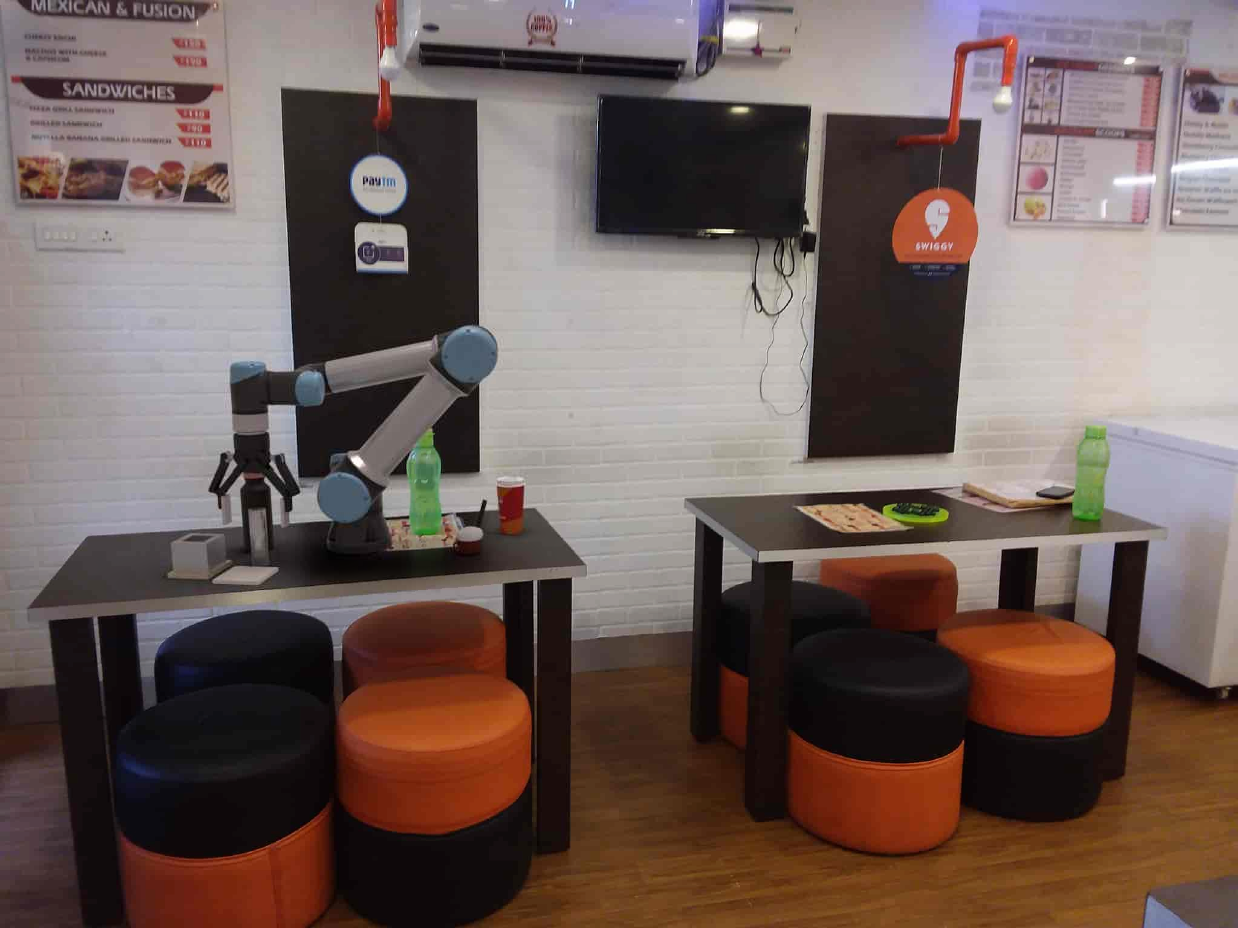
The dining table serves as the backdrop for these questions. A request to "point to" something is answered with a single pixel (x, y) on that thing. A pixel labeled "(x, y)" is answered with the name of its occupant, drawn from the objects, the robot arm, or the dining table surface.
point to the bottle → (252, 497)
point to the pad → (245, 575)
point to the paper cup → (510, 504)
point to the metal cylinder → (258, 537)
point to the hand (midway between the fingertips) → (256, 524)
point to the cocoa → (471, 535)
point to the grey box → (198, 556)
